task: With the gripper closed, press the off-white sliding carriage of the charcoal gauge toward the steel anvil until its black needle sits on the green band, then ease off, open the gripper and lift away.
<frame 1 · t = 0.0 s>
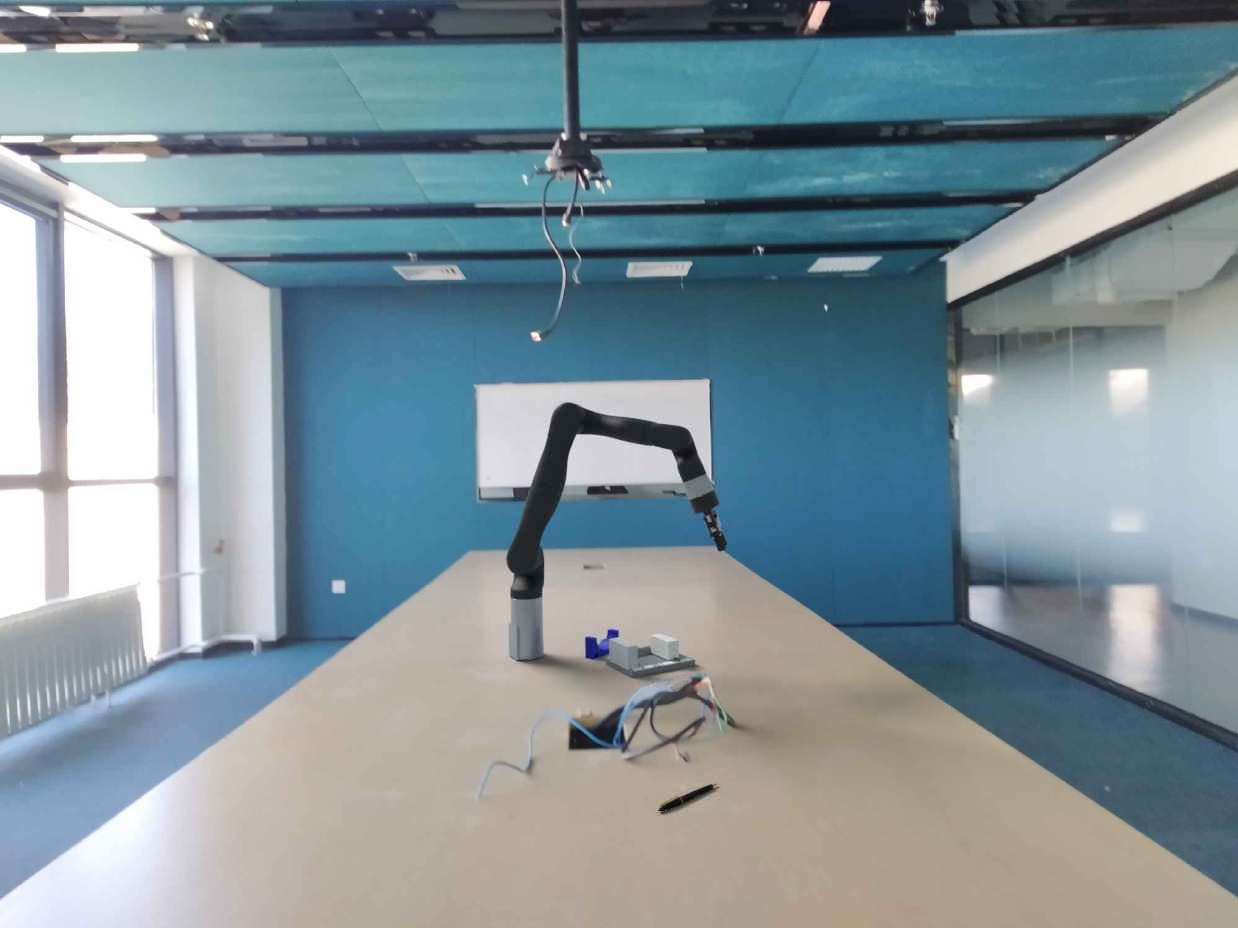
hand: (723, 548, 195), 31 cm above the table, tool tilted 20°, fingers open, 8 cm apart
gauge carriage: (667, 647, 196), point 4 cm above the table, slide at 0.0 cm
fountain pen: (689, 801, 118), on the table
cable clip: (600, 654, 207), on the table
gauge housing: (650, 664, 194), on the table
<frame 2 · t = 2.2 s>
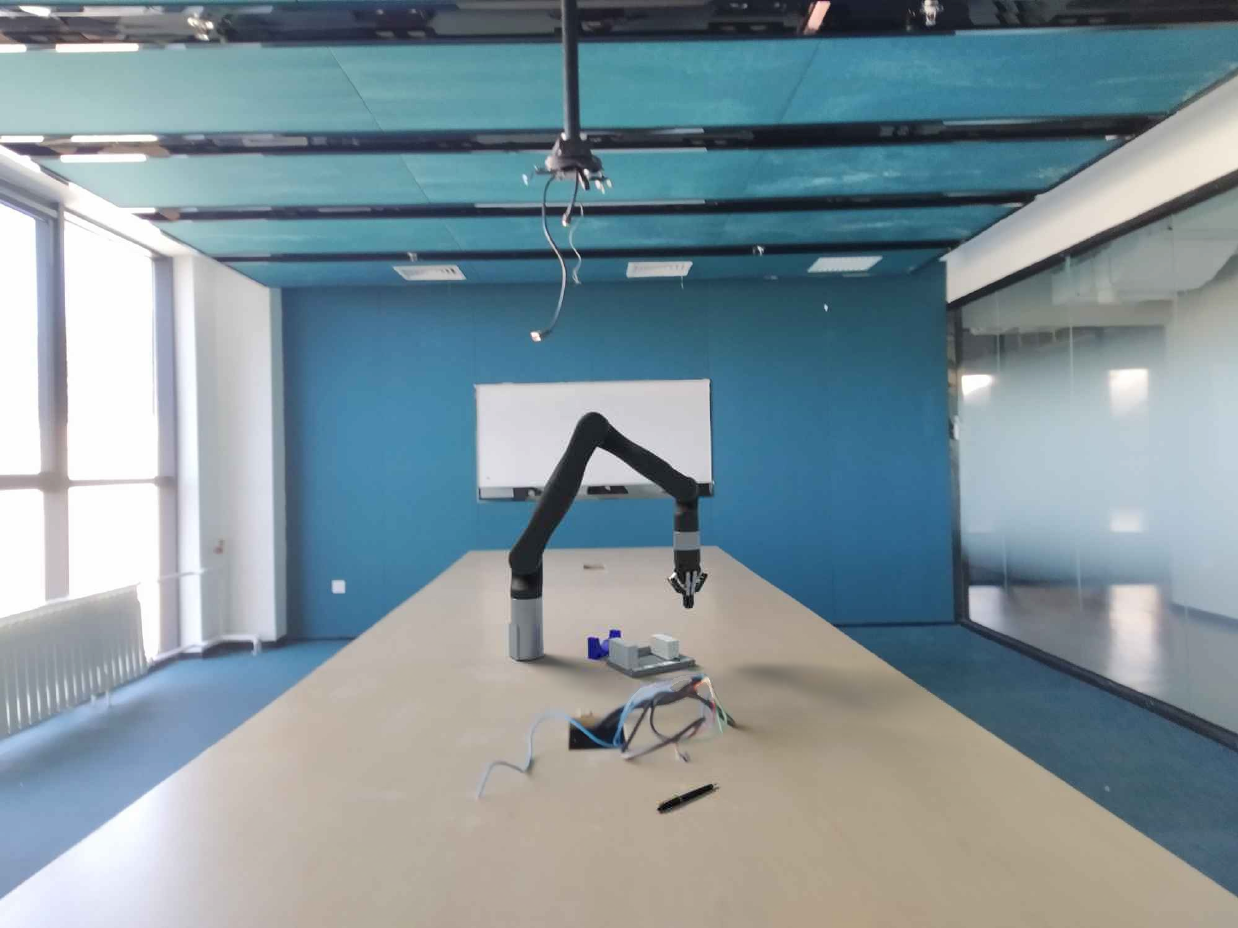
hand: (688, 608, 201), 14 cm above the table, tool pointing down, fingers closed
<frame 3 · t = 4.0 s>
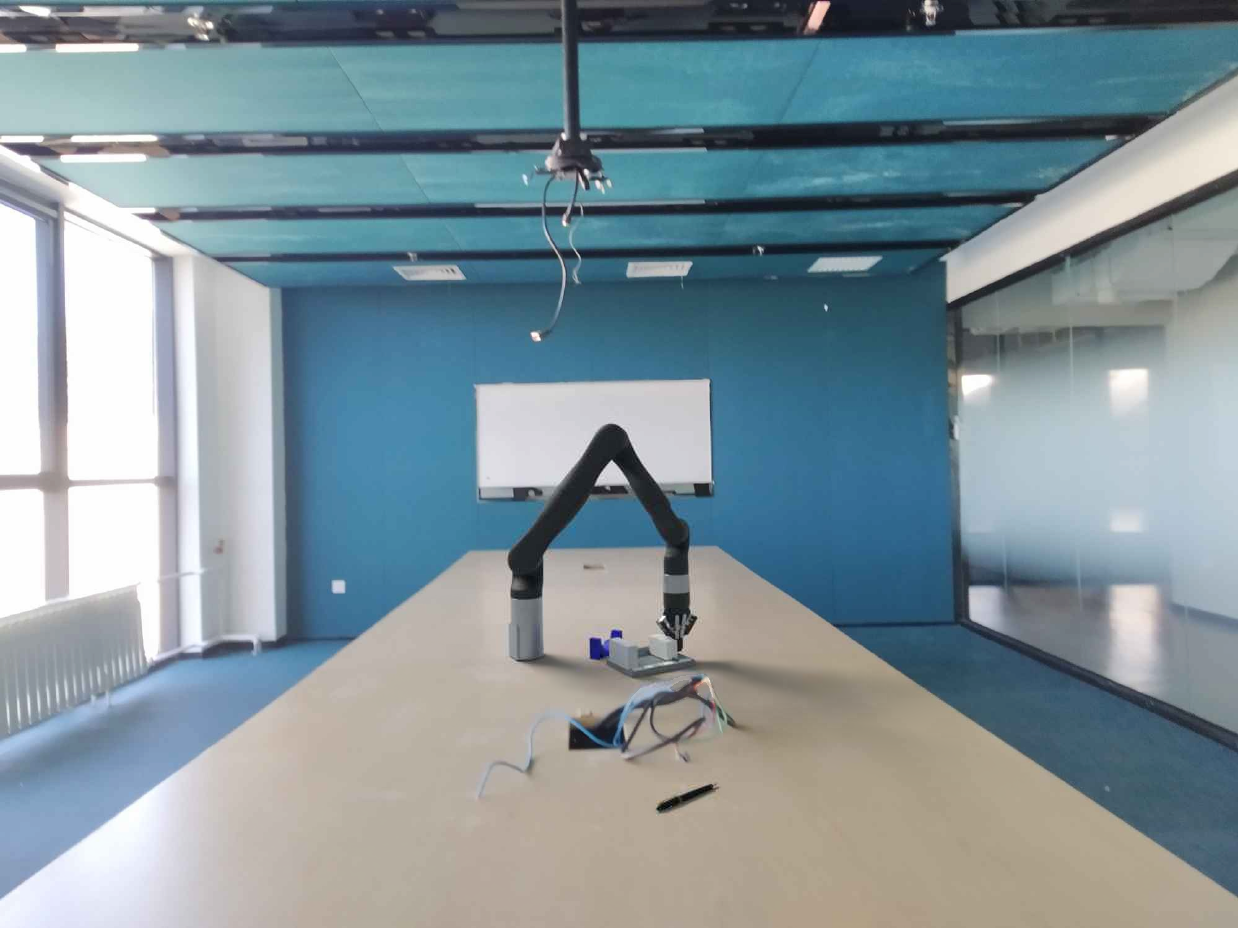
hand: (677, 650, 199), 2 cm above the table, tool pointing down, fingers closed
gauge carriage: (666, 647, 195), point 4 cm above the table, slide at 0.5 cm, touching gripper
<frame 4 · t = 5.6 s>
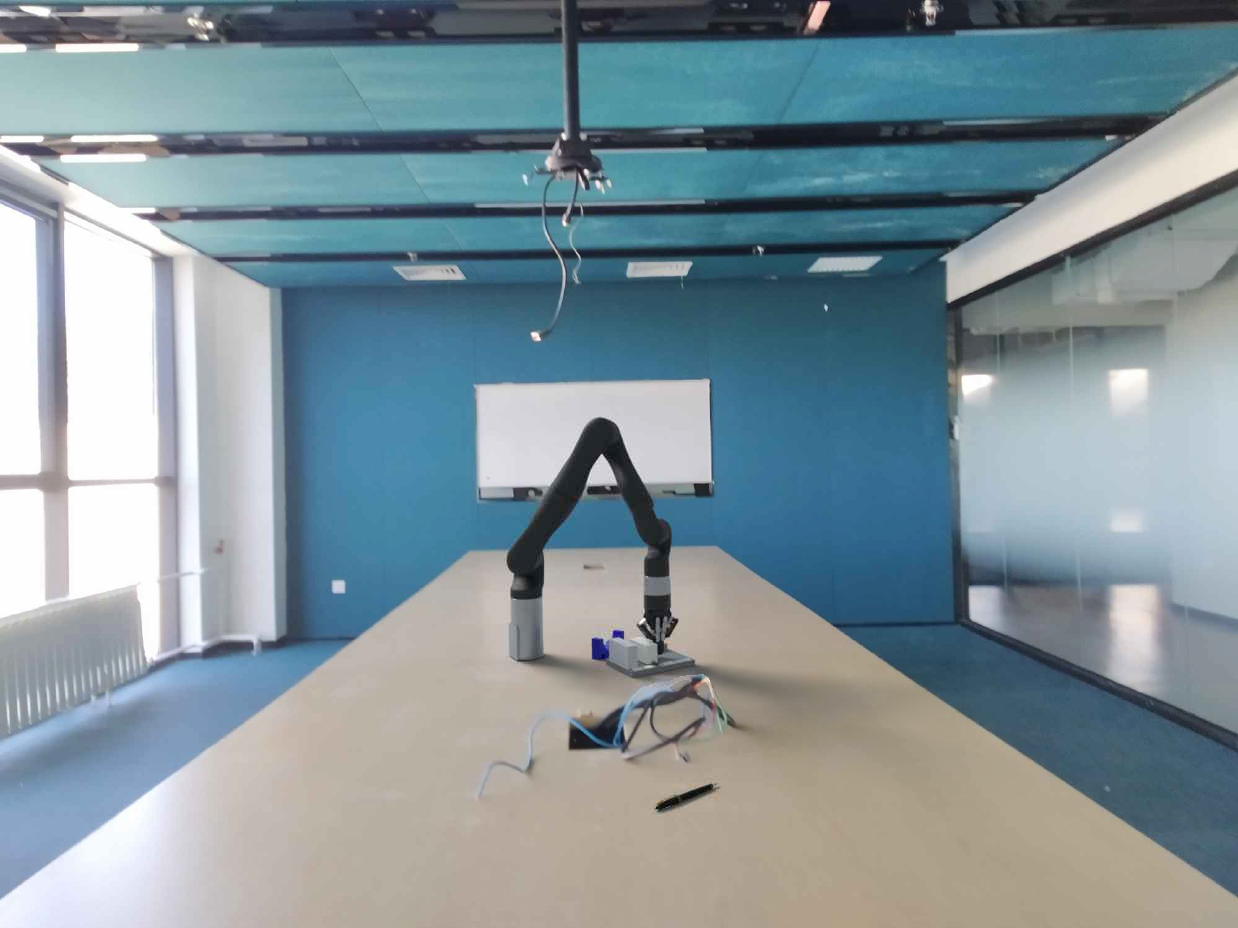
hand: (658, 654, 196), 2 cm above the table, tool pointing down, fingers closed
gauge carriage: (646, 651, 192), point 4 cm above the table, slide at 6.9 cm, touching gripper
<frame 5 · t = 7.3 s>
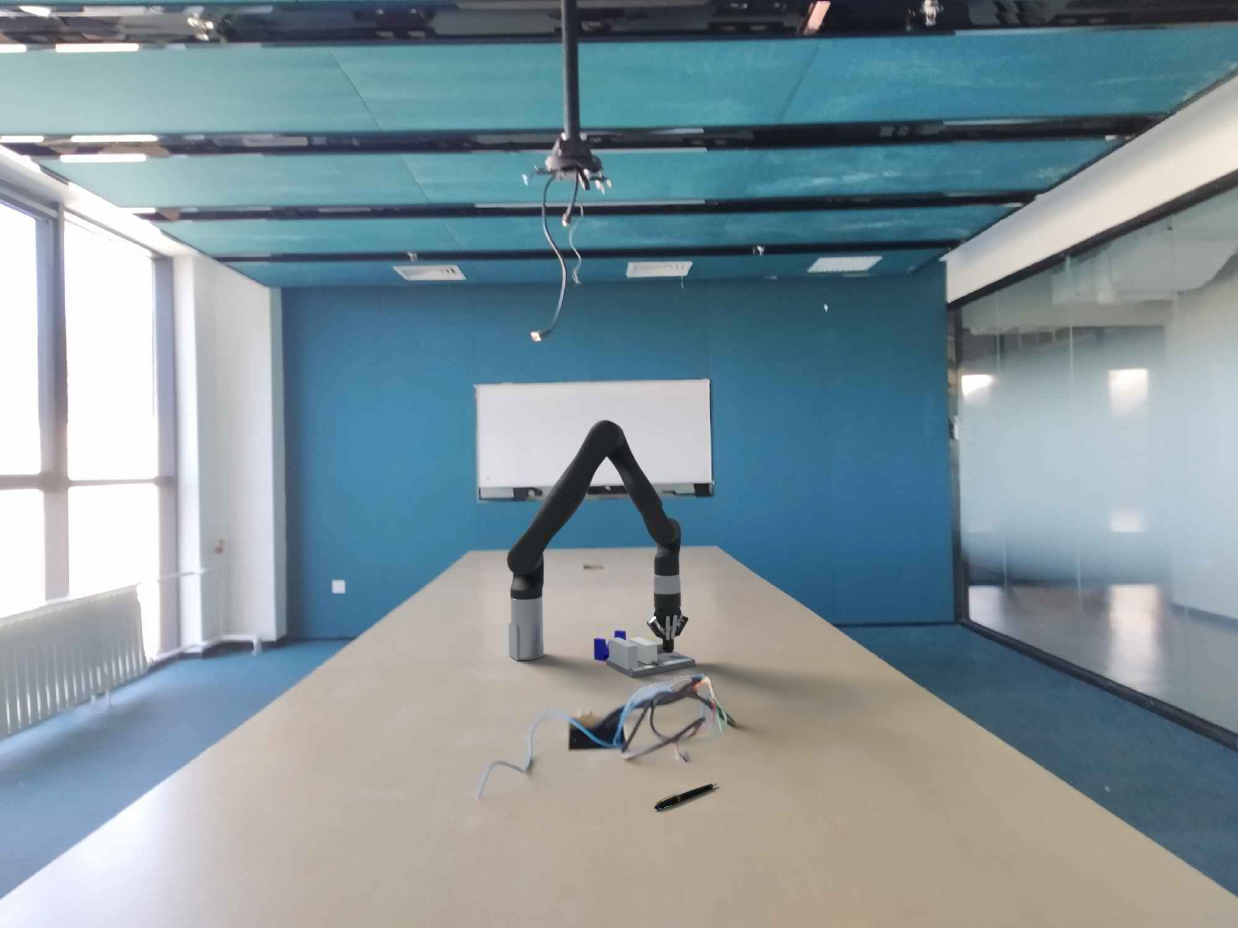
hand: (668, 652, 197), 3 cm above the table, tool pointing down, fingers closed
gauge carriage: (646, 651, 192), point 4 cm above the table, slide at 6.9 cm
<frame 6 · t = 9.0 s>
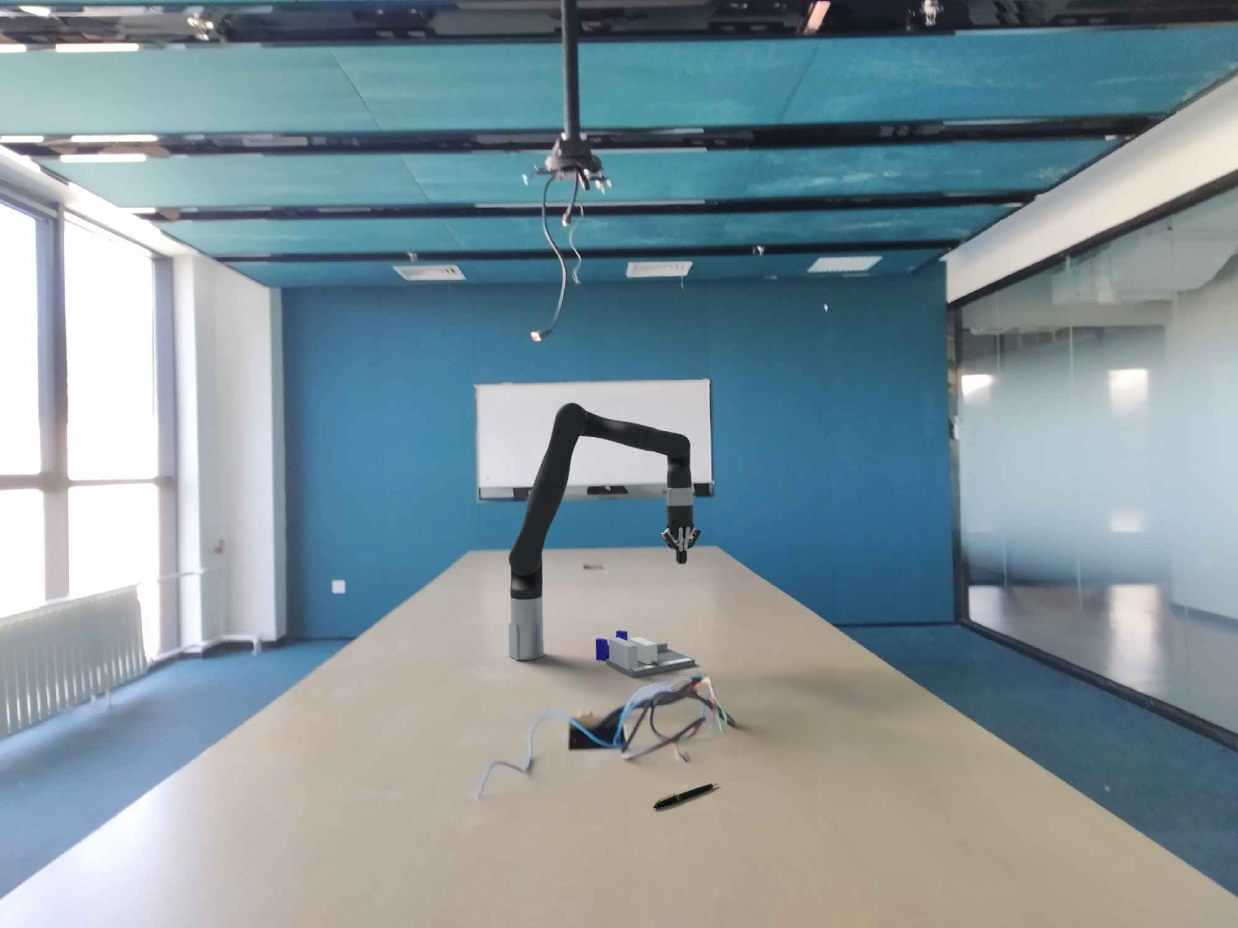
hand: (681, 563, 203), 26 cm above the table, tool pointing down, fingers closed
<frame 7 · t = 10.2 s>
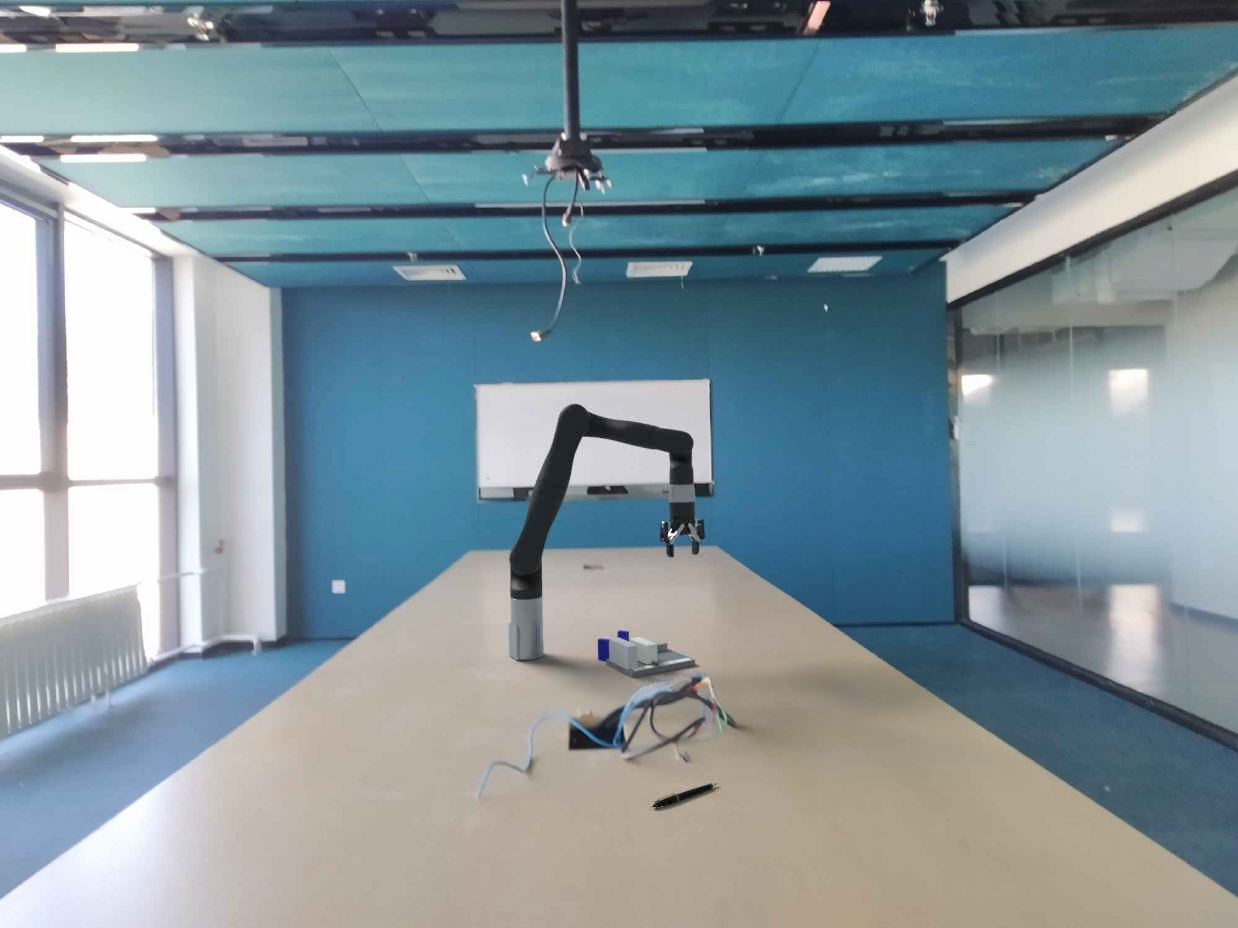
hand: (683, 555, 206), 28 cm above the table, tool pointing down, fingers open, 8 cm apart
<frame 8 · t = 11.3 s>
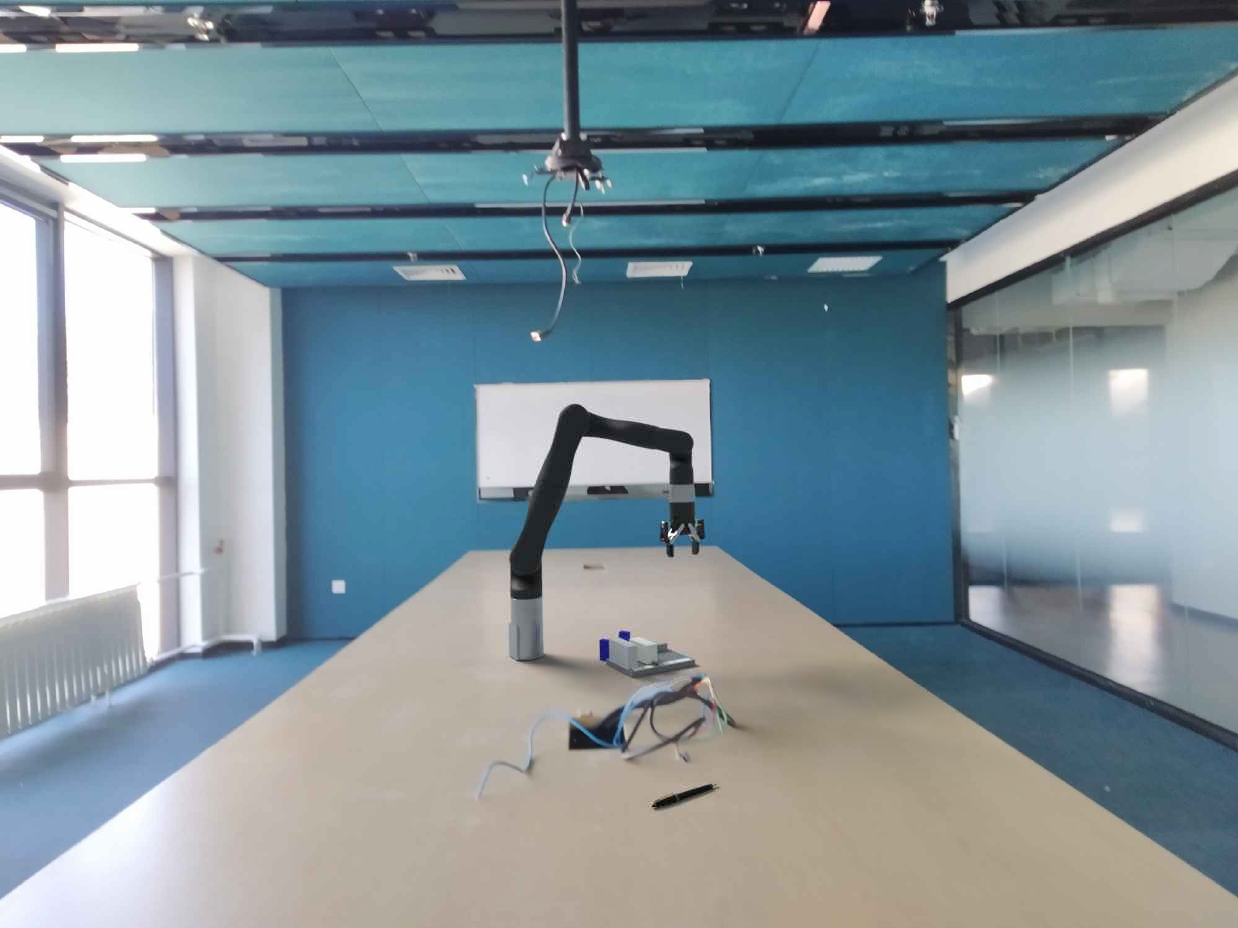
hand: (683, 555, 206), 28 cm above the table, tool pointing down, fingers open, 8 cm apart
at the end: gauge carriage slide at 6.9 cm; the gripper is holding nothing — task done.
